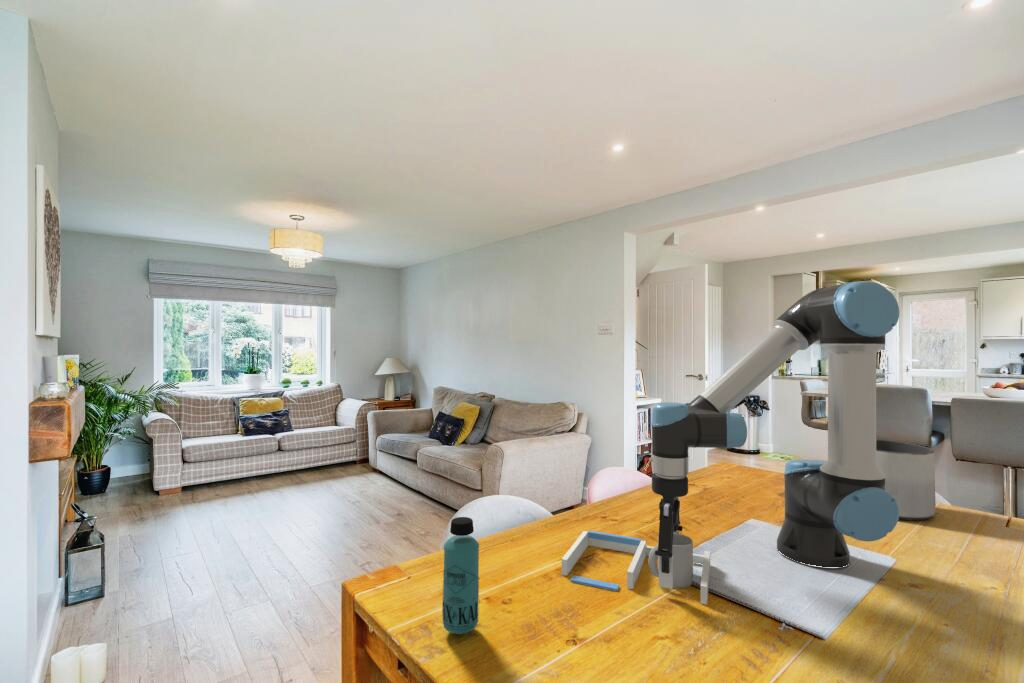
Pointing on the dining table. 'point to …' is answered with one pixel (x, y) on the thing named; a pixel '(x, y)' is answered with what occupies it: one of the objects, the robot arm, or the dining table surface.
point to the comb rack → (626, 546)
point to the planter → (908, 477)
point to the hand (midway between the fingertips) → (669, 572)
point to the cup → (677, 561)
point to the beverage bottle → (461, 578)
